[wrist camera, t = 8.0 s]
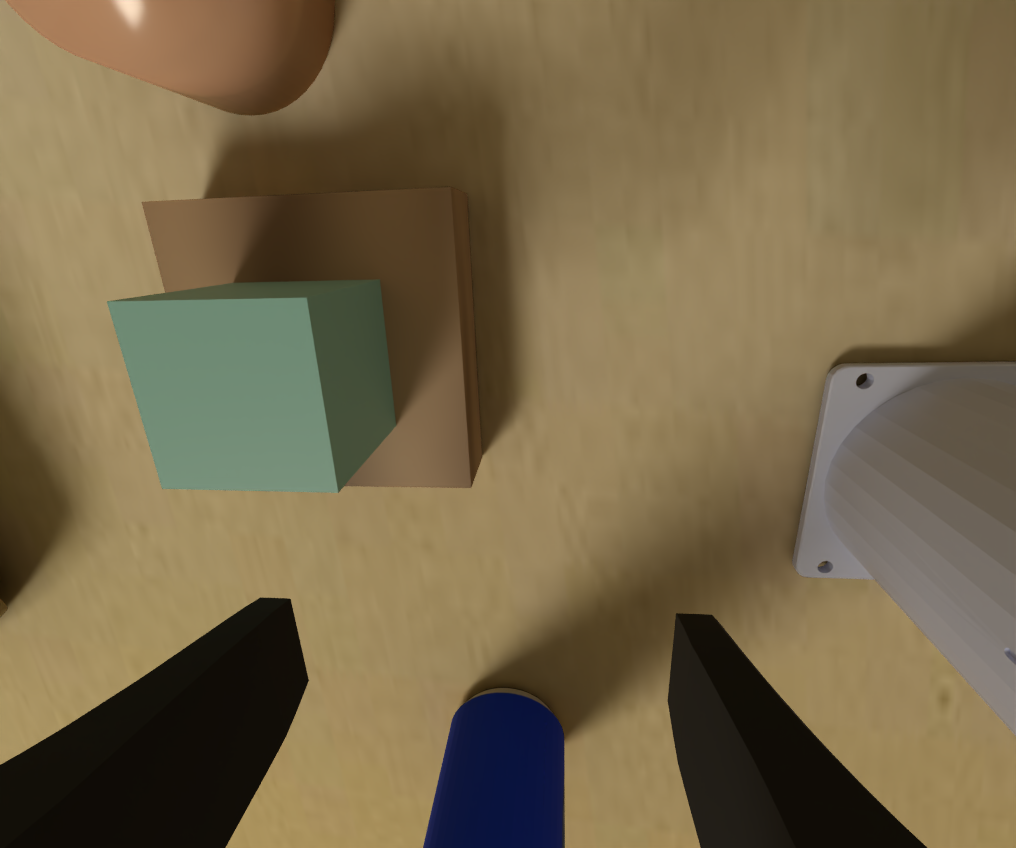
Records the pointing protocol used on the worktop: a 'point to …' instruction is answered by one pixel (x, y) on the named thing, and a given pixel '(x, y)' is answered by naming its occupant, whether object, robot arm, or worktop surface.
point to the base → (360, 256)
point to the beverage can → (500, 776)
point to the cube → (259, 382)
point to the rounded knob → (197, 44)
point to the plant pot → (2, 608)
